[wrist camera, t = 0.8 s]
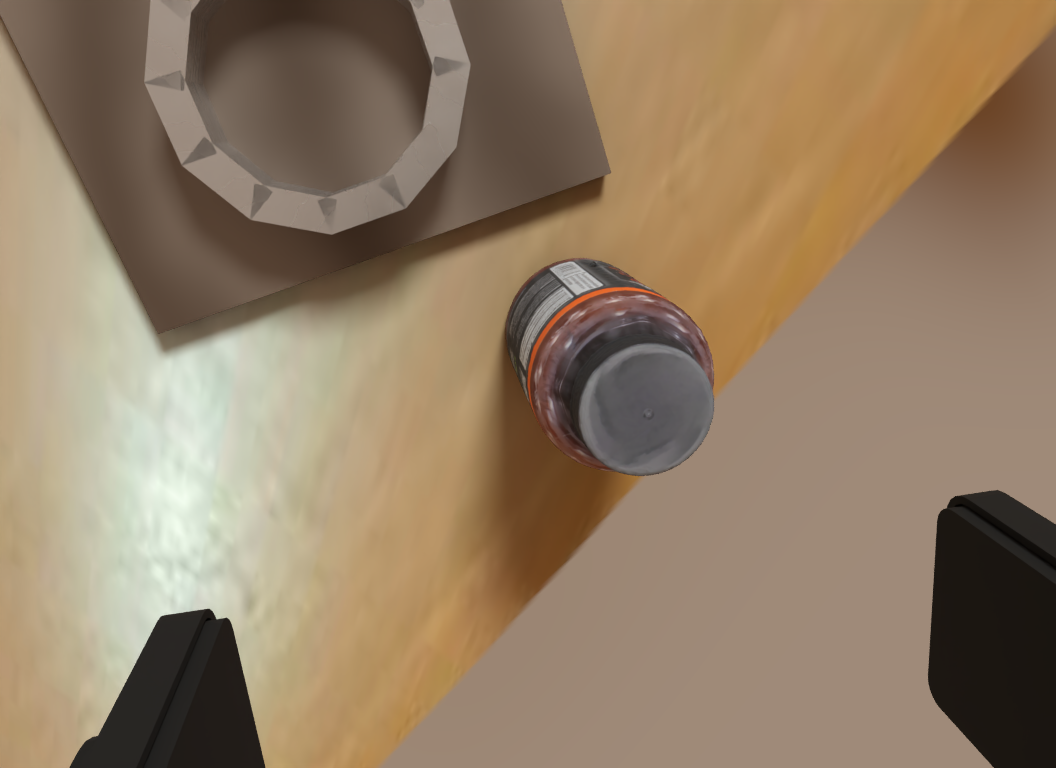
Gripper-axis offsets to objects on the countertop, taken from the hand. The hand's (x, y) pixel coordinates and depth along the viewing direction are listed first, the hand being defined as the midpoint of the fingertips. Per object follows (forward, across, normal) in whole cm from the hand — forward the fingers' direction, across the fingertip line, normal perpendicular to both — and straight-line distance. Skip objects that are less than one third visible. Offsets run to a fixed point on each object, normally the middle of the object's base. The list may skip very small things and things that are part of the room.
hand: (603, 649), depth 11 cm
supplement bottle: (+24, -4, +2) cm, 24 cm away
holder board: (+24, +5, -9) cm, 26 cm away
